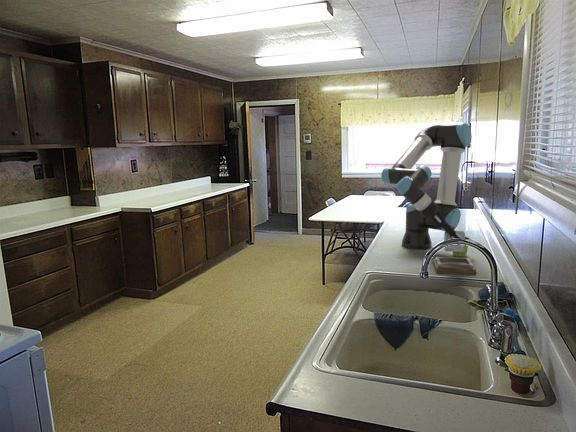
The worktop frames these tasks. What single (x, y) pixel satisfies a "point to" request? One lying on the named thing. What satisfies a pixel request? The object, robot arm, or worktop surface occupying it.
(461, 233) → the medicine box
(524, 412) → the worktop surface
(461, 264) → the walnut stand
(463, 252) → the plant pot
